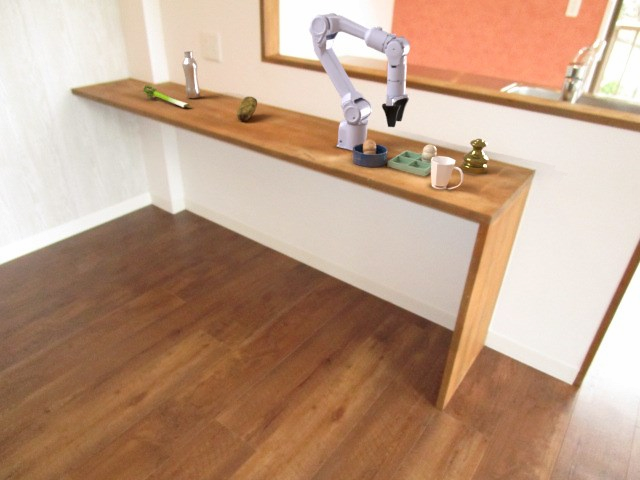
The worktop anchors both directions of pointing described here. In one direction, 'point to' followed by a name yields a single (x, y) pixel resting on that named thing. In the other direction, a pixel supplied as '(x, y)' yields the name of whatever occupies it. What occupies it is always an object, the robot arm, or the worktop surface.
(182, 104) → the leek
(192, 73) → the plastic bottle
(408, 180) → the worktop surface
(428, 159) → the cream egg
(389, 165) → the tray
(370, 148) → the brown egg
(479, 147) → the gold decorative ornament
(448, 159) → the cup
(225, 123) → the worktop surface
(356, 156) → the bowl
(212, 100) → the worktop surface
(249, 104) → the potato
